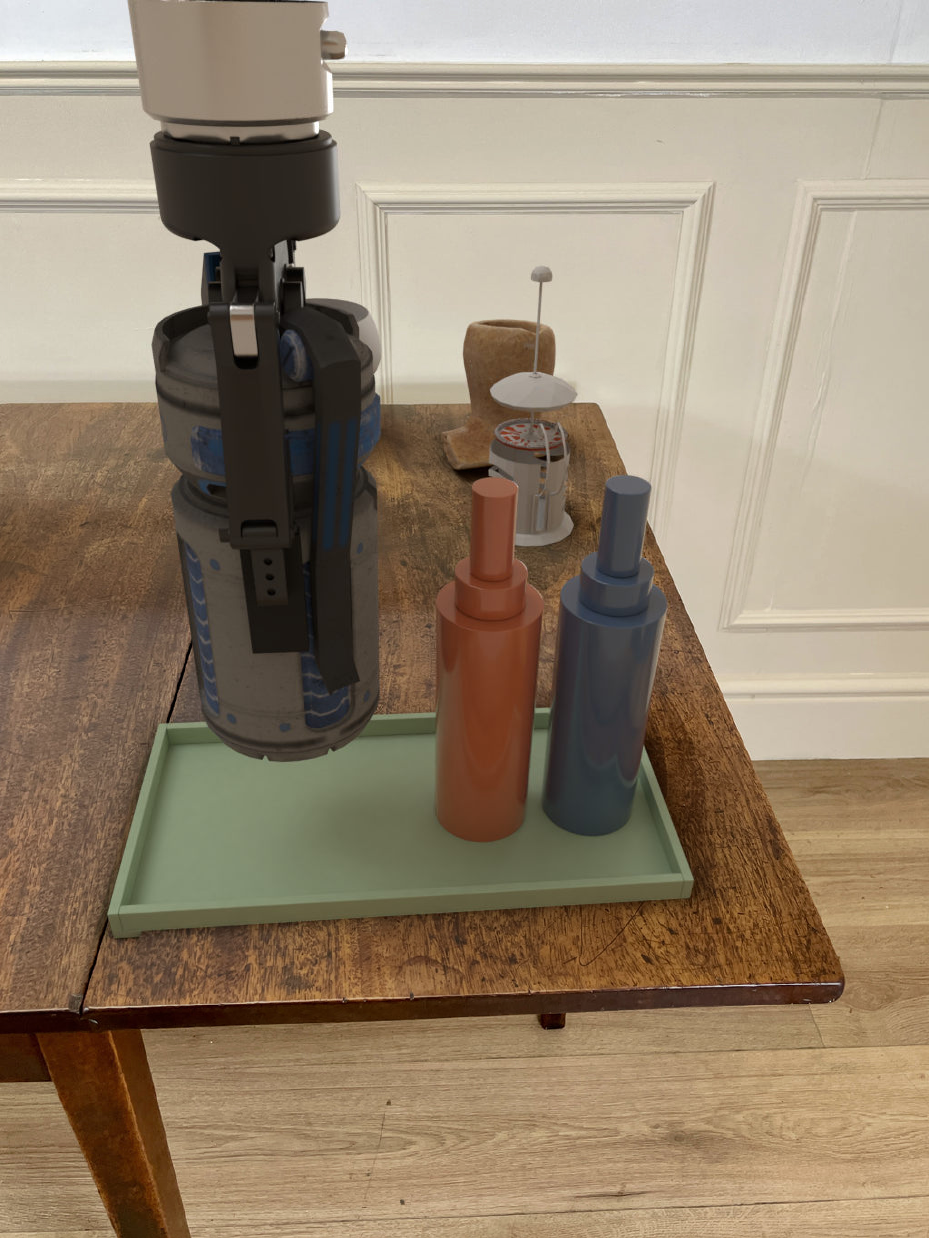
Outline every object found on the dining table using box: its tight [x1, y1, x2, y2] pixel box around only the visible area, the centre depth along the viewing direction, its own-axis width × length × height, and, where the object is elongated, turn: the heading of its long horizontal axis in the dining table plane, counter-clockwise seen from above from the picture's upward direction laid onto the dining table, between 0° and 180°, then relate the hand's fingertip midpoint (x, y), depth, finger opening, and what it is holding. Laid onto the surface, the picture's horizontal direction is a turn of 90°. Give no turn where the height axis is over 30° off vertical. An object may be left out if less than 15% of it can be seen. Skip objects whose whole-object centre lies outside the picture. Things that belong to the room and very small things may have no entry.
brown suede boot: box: [439, 318, 568, 471], centre depth 105 cm, size 15×12×15 cm
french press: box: [488, 265, 579, 547], centre depth 87 cm, size 10×12×25 cm
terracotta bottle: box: [434, 476, 545, 842], centre depth 55 cm, size 6×6×23 cm
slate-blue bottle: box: [541, 474, 668, 836], centre depth 55 cm, size 6×6×23 cm
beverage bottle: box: [151, 250, 382, 762], centre depth 48 cm, size 10×13×25 cm
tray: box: [106, 707, 695, 939], centre depth 60 cm, size 33×16×2 cm, turn 95°
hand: (288, 589), depth 51 cm, fingers closed on beverage bottle, 10 cm apart
